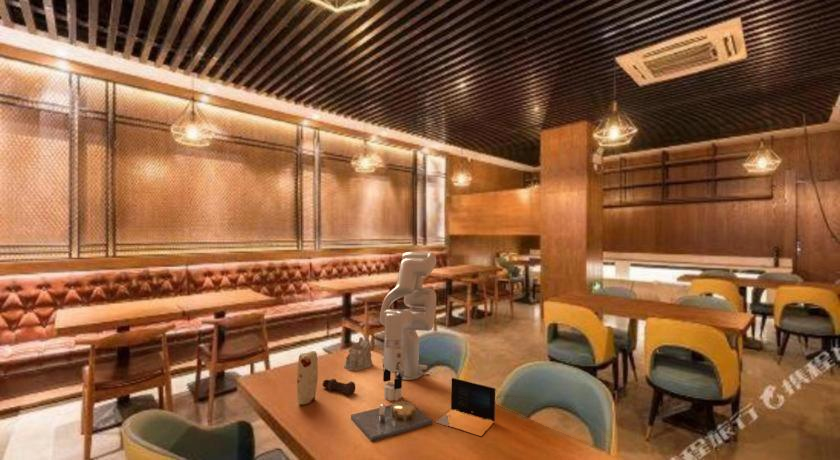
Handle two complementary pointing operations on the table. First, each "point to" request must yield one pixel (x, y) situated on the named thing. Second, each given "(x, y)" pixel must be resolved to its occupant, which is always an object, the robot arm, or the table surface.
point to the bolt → (340, 386)
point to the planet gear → (391, 392)
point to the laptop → (471, 400)
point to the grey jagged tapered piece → (359, 355)
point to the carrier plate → (387, 422)
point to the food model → (307, 377)
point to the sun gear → (403, 410)
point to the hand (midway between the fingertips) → (392, 384)
